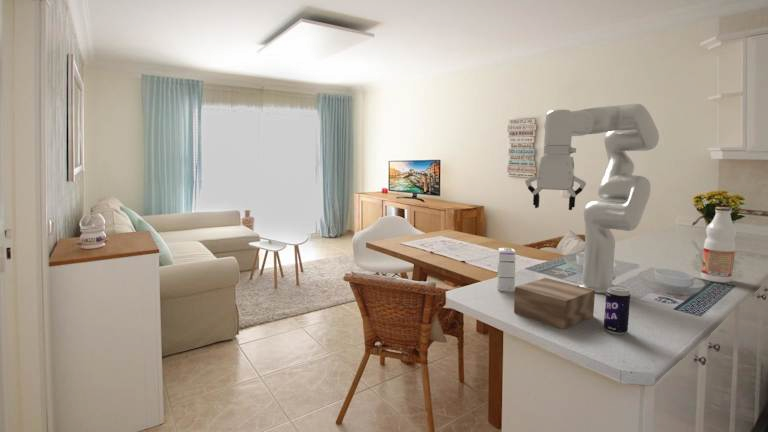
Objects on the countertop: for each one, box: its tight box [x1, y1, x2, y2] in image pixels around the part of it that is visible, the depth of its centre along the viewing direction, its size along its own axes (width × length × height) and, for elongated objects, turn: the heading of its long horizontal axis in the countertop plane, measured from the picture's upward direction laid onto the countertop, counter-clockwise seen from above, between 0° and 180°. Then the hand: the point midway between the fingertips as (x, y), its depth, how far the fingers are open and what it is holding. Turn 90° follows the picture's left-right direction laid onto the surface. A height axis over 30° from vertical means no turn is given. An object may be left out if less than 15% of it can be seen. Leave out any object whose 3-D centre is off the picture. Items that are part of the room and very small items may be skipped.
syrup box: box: [496, 247, 516, 293], centre depth 149 cm, size 6×6×14 cm
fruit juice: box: [700, 206, 738, 284], centre depth 160 cm, size 9×9×28 cm
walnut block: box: [513, 277, 596, 330], centre depth 125 cm, size 16×16×8 cm
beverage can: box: [603, 285, 632, 336], centre depth 112 cm, size 6×6×12 cm
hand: (553, 208), depth 129 cm, fingers open, 9 cm apart
